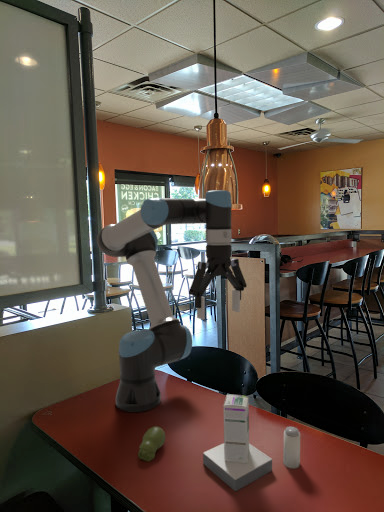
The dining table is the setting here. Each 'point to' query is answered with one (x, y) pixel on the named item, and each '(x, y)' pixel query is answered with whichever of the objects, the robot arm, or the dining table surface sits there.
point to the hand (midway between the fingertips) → (219, 314)
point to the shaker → (291, 447)
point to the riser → (237, 466)
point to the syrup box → (236, 429)
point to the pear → (151, 443)
